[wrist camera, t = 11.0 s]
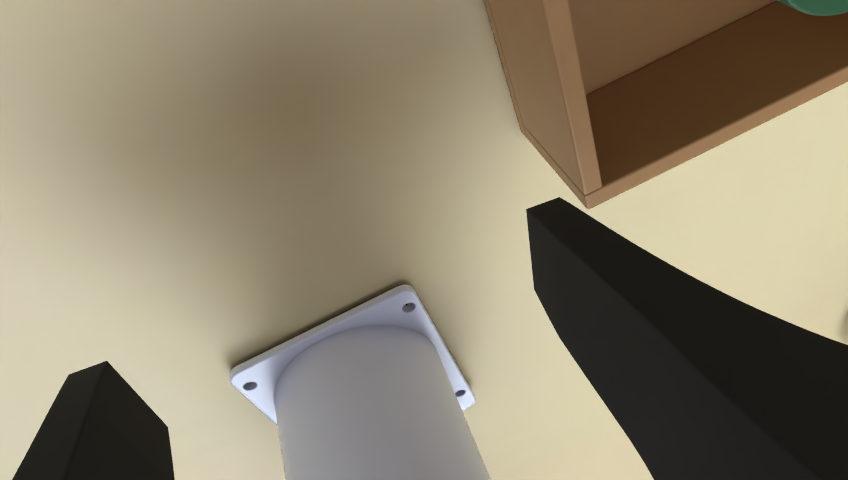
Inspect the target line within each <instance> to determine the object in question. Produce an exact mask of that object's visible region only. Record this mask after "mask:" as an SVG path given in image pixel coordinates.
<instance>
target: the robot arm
mask: <svg viewBox="0 0 848 480" xmlns="http://www.w3.org/2000/svg"><path fill="white" fill-rule="evenodd" d="M526 211H527V221H528V231H529V241H530V251H531V261H532V271H533V281H534V290H535V292H536V294H537V296H538V298H539V299H540V301H541V303H542V305H543V307H544V309H545V311H546V313H547V315H548V317H549V319H550V321H551V323H552V324H553V326H554V328H555V330H556V332H557V334H558V336H559V337H560V339H561V340H562V342H563V343H564V345H565V346H566V348H567V349H568V351H569V352H570V354H571V355H572V357H573V358H574V360H575V361H576V362H577V364H578V365H579V367H580V368H581V370H582V371H583V373H584V374H585V376H586V377H587V378H588V380H589V381H590V383H591V384H592V386H593V387H594V389H595V390H596V391H597V393H598V394H599V396H600V397H601V399H602V400H603V402H604V403H605V404H606V406H607V407H608V409H609V410H610V412H611V413H612V414H613V416H614V417H615V419H616V420H617V422H618V423H619V425H620V426H621V427H622V429H623V430H624V432H625V433H626V435H627V436H628V438H629V439H630V441H631V442H632V444H633V445H634V447H635V448H636V450H637V452H638V453H639V455H640V456H641V458H642V459H643V461H644V463H645V464H646V466H647V468H648V470H649V471H650V473H651V475H652V477H653V479H654V480H848V345H846V344H843V343H840V342H837V341H834V340H831V339H829V338H826V337H824V336H821V335H818V334H816V333H813V332H811V331H808V330H806V329H803V328H801V327H798V326H796V325H794V324H791V323H789V322H787V321H784V320H782V319H780V318H777V317H775V316H773V315H770V314H768V313H766V312H763V311H761V310H759V309H756V308H754V307H752V306H750V305H748V304H746V303H743V302H741V301H739V300H737V299H735V298H733V297H731V296H729V295H727V294H725V293H723V292H721V291H719V290H717V289H715V288H713V287H711V286H709V285H707V284H705V283H703V282H701V281H699V280H697V279H696V278H694V277H692V276H690V275H688V274H686V273H684V272H683V271H681V270H679V269H677V268H675V267H674V266H672V265H670V264H668V263H667V262H665V261H663V260H661V259H660V258H658V257H656V256H654V255H653V254H651V253H649V252H647V251H646V250H644V249H642V248H640V247H639V246H637V245H635V244H634V243H632V242H630V241H629V240H627V239H625V238H624V237H622V236H621V235H619V234H617V233H616V232H614V231H613V230H611V229H609V228H608V227H606V226H605V225H603V224H601V223H600V222H598V221H597V220H595V219H593V218H592V217H590V216H589V215H587V214H586V213H584V212H583V211H581V210H579V209H578V208H576V207H575V206H573V205H572V204H570V203H568V202H567V201H565V200H563V199H562V198H560V197H559V198H556V199H553V200H550V201H548V202H545V203H542V204H539V205H537V206H534V207H531V208H528V209H526ZM407 303H410V304H409V305H406V304H407ZM404 305H406V306H404ZM230 382H231V384H232V385H233V386H234V387H235V388H236V389H237V390H239V391H240V392H241V393H242V394H243V395H244V396H245V397H246V398H247V399H248V400H250V401H251V402H252V403H253V404H254V405H255V406H256V407H257V408H258V409H259V410H261V411H262V412H263V413H264V414H265V415H266V416H267V417H268V418H269V419H270V420H272V421H273V422H274V423H275V424H276V425H277V426H278V431H279V438H280V444H281V451H282V458H283V464H284V471H285V478H286V480H491V479H490V476H489V474H488V471H487V469H486V467H485V464H484V462H483V459H482V457H481V455H480V452H479V450H478V448H477V445H476V443H475V440H474V438H473V436H472V433H471V431H470V429H469V426H468V424H467V421H466V419H465V417H464V414H463V412H462V411H463V410H465V409H467V408H469V407H471V406H472V405H473V404H474V402H475V397H474V394H473V392H472V390H471V389H470V387H469V385H468V383H467V382H466V380H465V378H464V376H463V375H462V373H461V371H460V369H459V368H458V366H457V364H456V362H455V361H454V359H453V357H452V355H451V354H450V352H449V350H448V348H447V346H446V345H445V343H444V341H443V339H442V338H441V336H440V334H439V332H438V331H437V329H436V327H435V325H434V324H433V322H432V320H431V318H430V317H429V315H428V313H427V311H426V310H425V308H424V306H423V304H422V302H421V301H420V299H419V297H418V295H417V294H416V292H415V290H414V288H413V287H412V286H410V285H400V286H397V287H395V288H393V289H391V290H389V291H387V292H385V293H383V294H381V295H379V296H377V297H375V298H373V299H371V300H369V301H367V302H365V303H363V304H361V305H359V306H357V307H355V308H353V309H351V310H349V311H347V312H345V313H343V314H341V315H339V316H337V317H335V318H333V319H331V320H329V321H327V322H325V323H323V324H321V325H319V326H317V327H314V328H312V329H310V330H308V331H306V332H304V333H302V334H300V335H298V336H296V337H294V338H292V339H290V340H288V341H286V342H284V343H282V344H280V345H278V346H276V347H274V348H272V349H270V350H268V351H266V352H264V353H262V354H260V355H258V356H256V357H254V358H252V359H250V360H248V361H246V362H244V363H242V364H240V365H238V366H236V367H234V368H233V369H232V370H231V371H230ZM247 382H250V383H247ZM12 480H174V471H173V462H172V454H171V447H170V440H169V432H168V427H167V426H166V425H165V424H164V422H163V421H162V420H161V419H160V418H159V417H158V416H157V415H156V414H155V413H154V412H153V410H152V409H151V408H150V407H149V406H148V405H147V404H146V403H145V402H144V401H143V400H142V399H141V397H140V396H139V395H138V394H137V393H136V392H135V391H134V390H133V389H132V388H131V387H130V385H129V384H128V383H127V382H126V381H125V380H124V379H123V378H122V377H121V376H120V375H119V373H118V372H117V371H116V370H115V369H114V368H113V367H112V366H111V365H110V364H109V363H108V362H107V361H105V362H103V363H100V364H97V365H94V366H91V367H89V368H86V369H83V370H80V371H78V372H75V373H72V374H69V375H68V377H67V379H66V381H65V382H64V384H63V386H62V388H61V389H60V391H59V393H58V395H57V397H56V399H55V401H54V402H53V404H52V406H51V408H50V410H49V412H48V414H47V416H46V418H45V419H44V421H43V423H42V425H41V427H40V429H39V431H38V433H37V435H36V437H35V438H34V440H33V442H32V444H31V446H30V448H29V450H28V452H27V454H26V455H25V457H24V459H23V461H22V463H21V465H20V466H19V468H18V470H17V472H16V474H15V476H14V477H13V479H12Z"/></svg>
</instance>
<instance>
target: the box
mask: <svg viewBox="0 0 848 480" xmlns="http://www.w3.org/2000/svg"><path fill="white" fill-rule="evenodd" d="M484 2H485V6H486V9H487V13H488V16H489V20H490V23H491V27H492V30H493V34H494V37H495V41H496V44H497V48H498V51H499V55H500V58H501V62H502V65H503V69H504V72H505V76H506V79H507V83H508V86H509V90H510V93H511V97H512V100H513V104H514V107H515V111H516V114H517V118H518V121H519V125H520V128H521V132H522V133H523V134H524V135H525V136H526V137H527V138H528V140H529V141H530V142H531V143H532V144H533V146H534V147H535V148H536V149H537V150H538V152H539V153H540V154H541V155H542V156H543V157H544V159H545V160H546V161H547V162H548V163H549V165H550V166H551V167H552V168H553V169H554V170H555V172H556V173H557V174H558V175H559V176H560V177H561V179H562V180H563V181H564V182H565V183H566V185H567V186H568V187H569V188H570V189H571V190H572V192H573V193H574V194H575V195H576V196H577V198H578V199H579V200H580V201H581V202H582V203H583V205H584V206H585V207H586V208H587V209H591V208H593V207H595V206H597V205H599V204H601V203H603V202H605V201H607V200H609V199H611V198H613V197H615V196H617V195H619V194H621V193H623V192H625V191H627V190H629V189H631V188H633V187H635V186H637V185H639V184H641V183H643V182H645V181H647V180H649V179H651V178H653V177H655V176H657V175H659V174H661V173H663V172H665V171H667V170H670V169H672V168H674V167H676V166H678V165H680V164H682V163H684V162H686V161H688V160H690V159H692V158H694V157H696V156H698V155H700V154H702V153H704V152H706V151H708V150H710V149H712V148H714V147H716V146H718V145H720V144H722V143H724V142H726V141H728V140H730V139H732V138H734V137H736V136H738V135H740V134H742V133H744V132H746V131H748V130H751V129H753V128H755V127H757V126H759V125H761V124H763V123H765V122H767V121H769V120H771V119H773V118H775V117H777V116H779V115H781V114H783V113H785V112H787V111H789V110H791V109H793V108H795V107H797V106H799V105H801V104H803V103H805V102H807V101H809V100H811V99H813V98H815V97H817V96H819V95H821V94H823V93H825V92H827V91H829V90H832V89H834V88H836V87H838V86H840V85H842V84H844V83H846V82H848V12H846V13H843V14H837V15H831V16H815V15H809V14H805V13H803V12H800V11H798V10H796V9H794V8H791V7H789V6H787V5H785V4H783V3H781V2H779V1H776V0H484Z"/></svg>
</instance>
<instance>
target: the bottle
mask: <svg viewBox="0 0 848 480" xmlns="http://www.w3.org/2000/svg"><path fill="white" fill-rule="evenodd" d="M776 1H779V2H781V3H783V4H785V5H787V6H789V7H791V8H794V9H796V10H798V11H800V12H803V13H805V14H809V15H815V16H831V15H837V14H843V13H846V12H848V0H776Z"/></svg>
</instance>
